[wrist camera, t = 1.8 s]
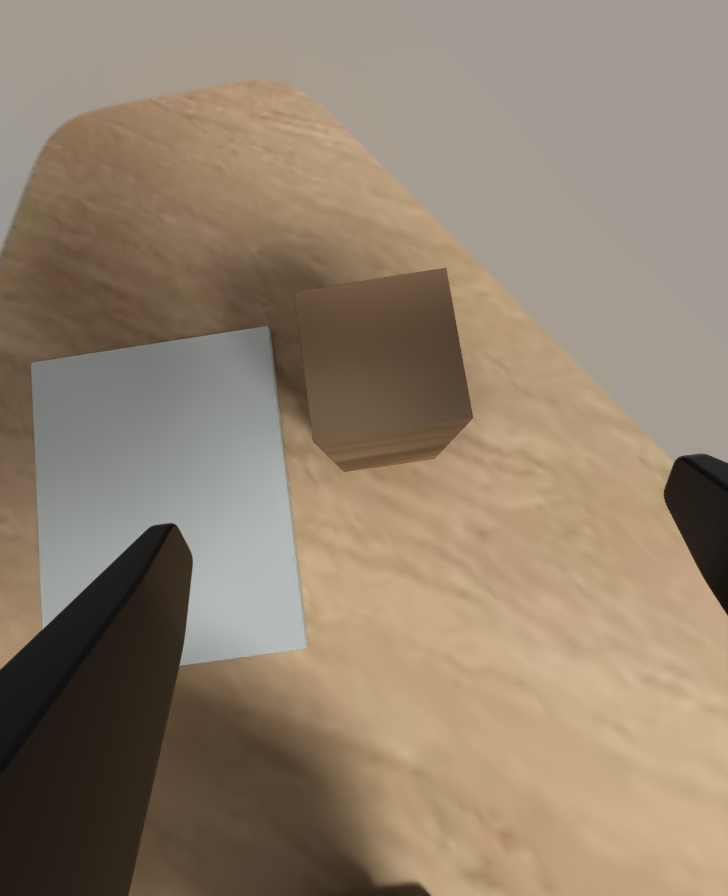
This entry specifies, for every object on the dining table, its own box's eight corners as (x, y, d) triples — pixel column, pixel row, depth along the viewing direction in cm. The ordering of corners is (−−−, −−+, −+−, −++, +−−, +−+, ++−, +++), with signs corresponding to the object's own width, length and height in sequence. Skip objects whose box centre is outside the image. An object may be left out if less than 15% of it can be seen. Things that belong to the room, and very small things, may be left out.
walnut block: (434, 458, 20) (472, 418, 11) (344, 472, 20) (312, 441, 12) (419, 371, 21) (445, 267, 12) (332, 384, 21) (293, 292, 12)
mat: (308, 645, 20) (306, 648, 19) (53, 680, 20) (44, 684, 19) (270, 330, 21) (267, 325, 21) (38, 366, 22) (30, 362, 21)
